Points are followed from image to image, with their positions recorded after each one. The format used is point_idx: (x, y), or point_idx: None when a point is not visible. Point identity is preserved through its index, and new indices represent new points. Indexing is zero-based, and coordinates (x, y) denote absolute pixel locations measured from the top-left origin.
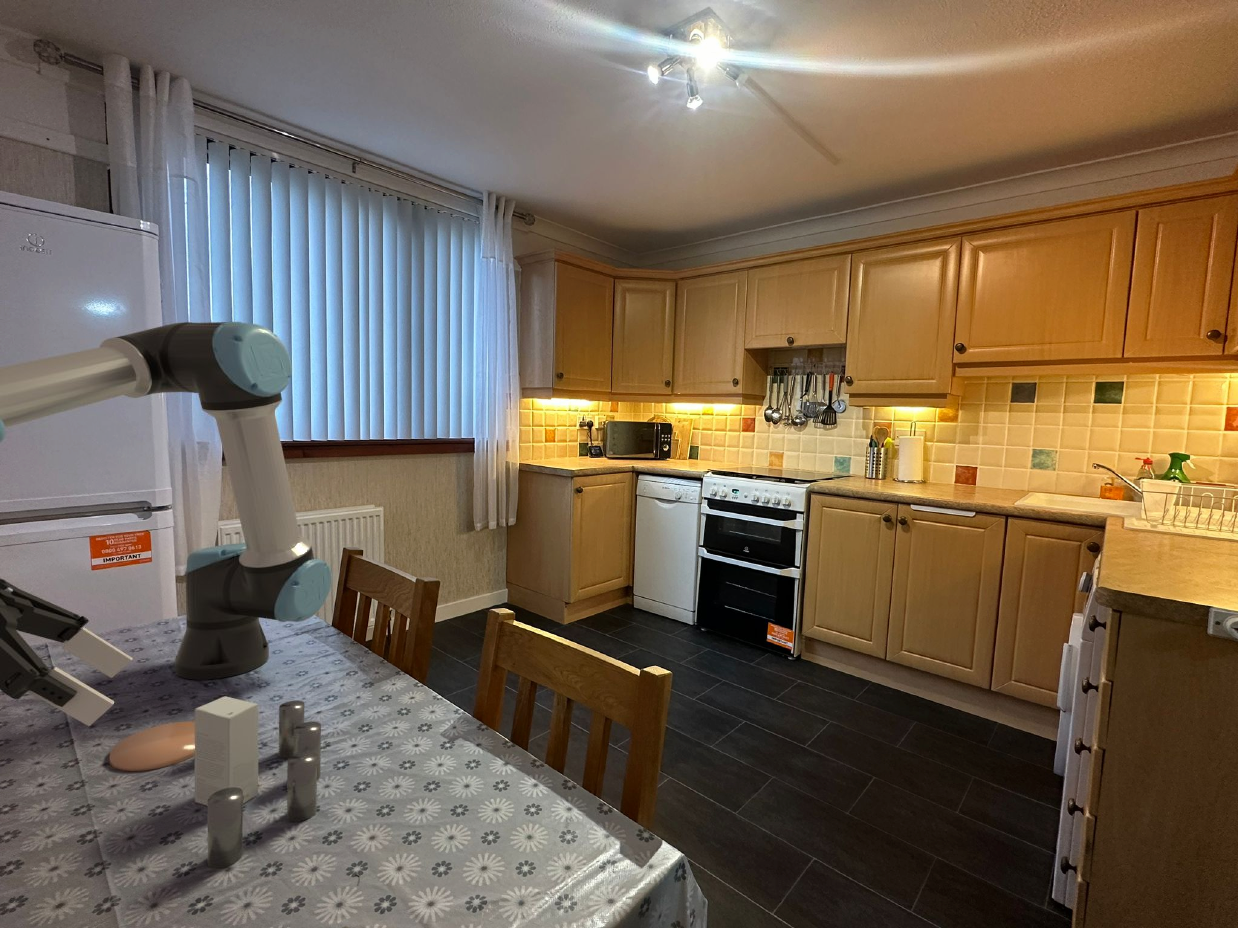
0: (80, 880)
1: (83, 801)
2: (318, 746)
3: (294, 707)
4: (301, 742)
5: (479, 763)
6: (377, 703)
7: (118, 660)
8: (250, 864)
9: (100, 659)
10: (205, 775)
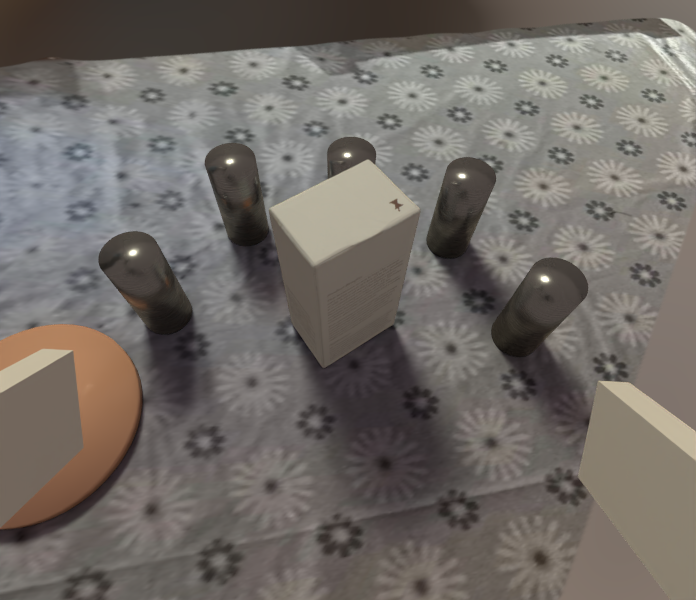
0: (481, 535)
1: (181, 565)
2: None
3: (243, 158)
4: None
5: (434, 66)
6: (163, 107)
7: (50, 398)
8: None
9: (3, 473)
10: (350, 328)
